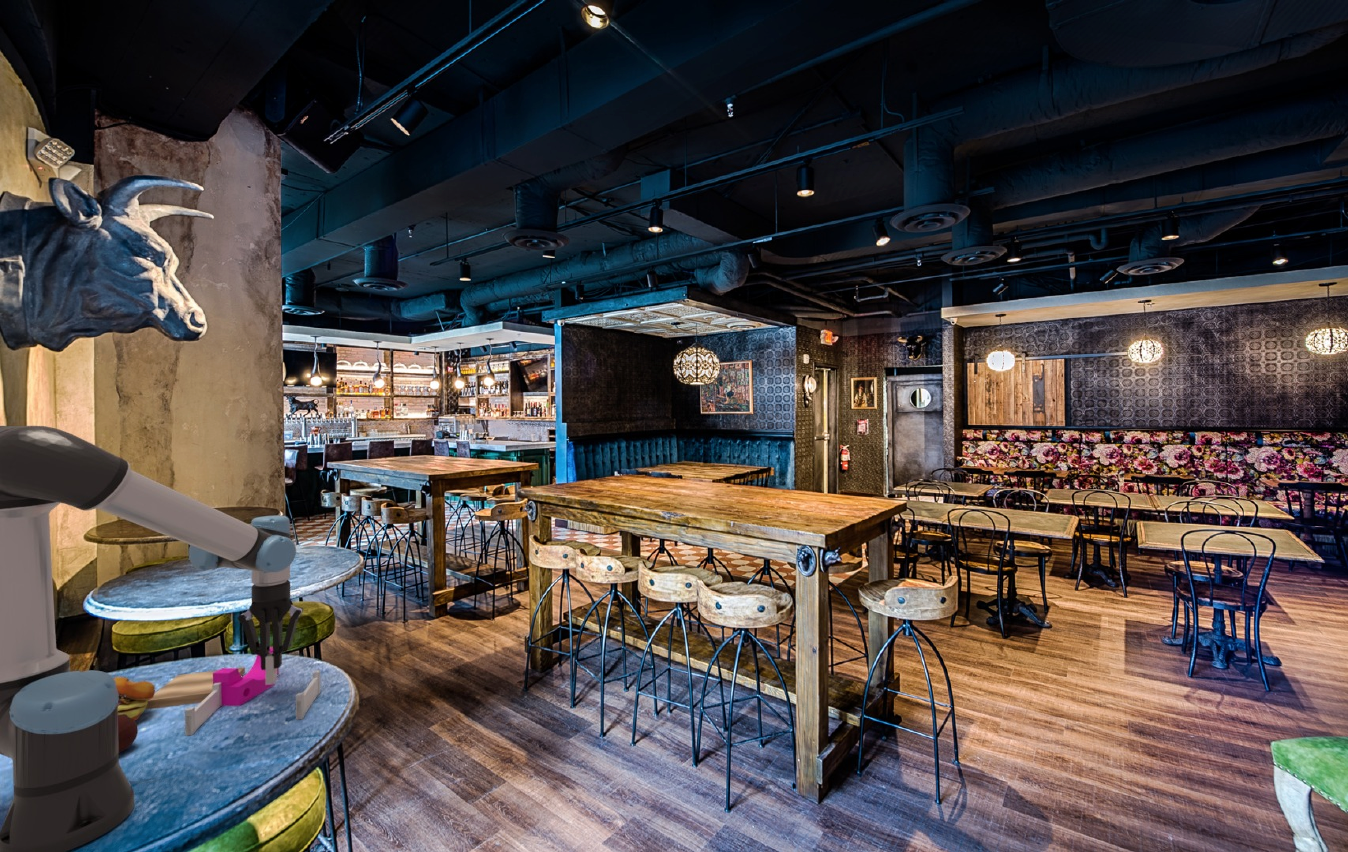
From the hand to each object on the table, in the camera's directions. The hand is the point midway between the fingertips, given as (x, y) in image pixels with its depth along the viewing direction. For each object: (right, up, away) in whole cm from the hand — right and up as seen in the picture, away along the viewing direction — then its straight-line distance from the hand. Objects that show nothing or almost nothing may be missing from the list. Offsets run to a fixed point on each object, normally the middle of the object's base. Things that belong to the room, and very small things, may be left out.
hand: (271, 682), depth 136 cm
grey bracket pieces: (+3, -3, -9) cm, 10 cm away
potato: (-14, -4, -24) cm, 28 cm away
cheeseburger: (-25, -4, -14) cm, 29 cm away
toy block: (-6, -3, +2) cm, 7 cm away
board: (-19, -3, +2) cm, 19 cm away
